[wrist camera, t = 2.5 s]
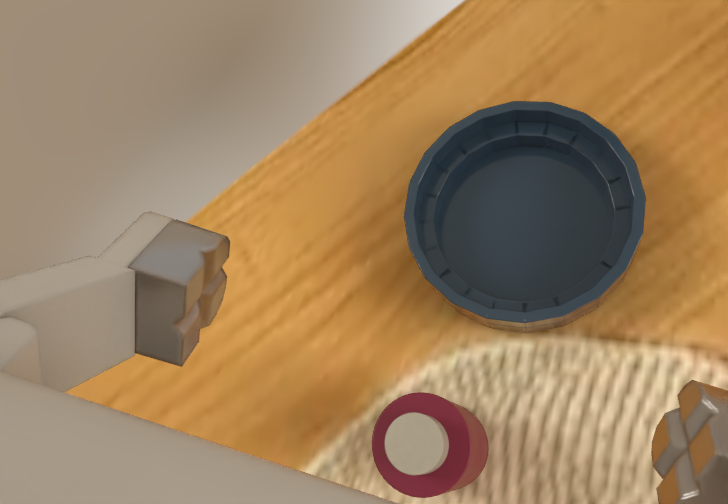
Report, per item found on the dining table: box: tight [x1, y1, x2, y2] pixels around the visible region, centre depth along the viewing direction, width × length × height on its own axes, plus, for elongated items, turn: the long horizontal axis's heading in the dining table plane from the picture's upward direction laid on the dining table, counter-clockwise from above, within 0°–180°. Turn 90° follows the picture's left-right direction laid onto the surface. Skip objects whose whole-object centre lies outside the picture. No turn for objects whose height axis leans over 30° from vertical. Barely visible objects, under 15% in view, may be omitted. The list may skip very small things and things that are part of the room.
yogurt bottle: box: [372, 393, 488, 498], centre depth 40 cm, size 6×6×11 cm
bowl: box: [404, 101, 646, 332], centre depth 46 cm, size 15×15×4 cm
